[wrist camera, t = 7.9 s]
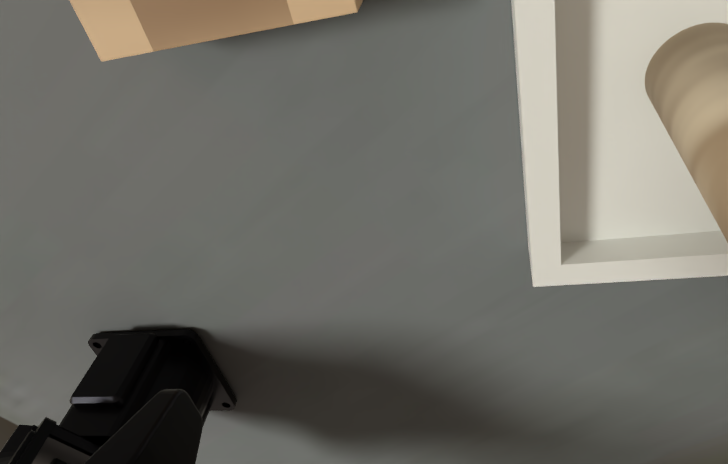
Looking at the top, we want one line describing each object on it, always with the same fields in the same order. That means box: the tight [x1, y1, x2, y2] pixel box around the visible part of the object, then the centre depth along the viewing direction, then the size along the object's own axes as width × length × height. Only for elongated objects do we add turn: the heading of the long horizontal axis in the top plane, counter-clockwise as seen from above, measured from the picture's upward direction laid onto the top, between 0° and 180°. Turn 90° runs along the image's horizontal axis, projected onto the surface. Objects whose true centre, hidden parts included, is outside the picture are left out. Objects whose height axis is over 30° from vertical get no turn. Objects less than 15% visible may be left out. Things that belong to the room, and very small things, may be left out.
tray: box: [511, 0, 728, 287], centre depth 16 cm, size 14×10×2 cm
